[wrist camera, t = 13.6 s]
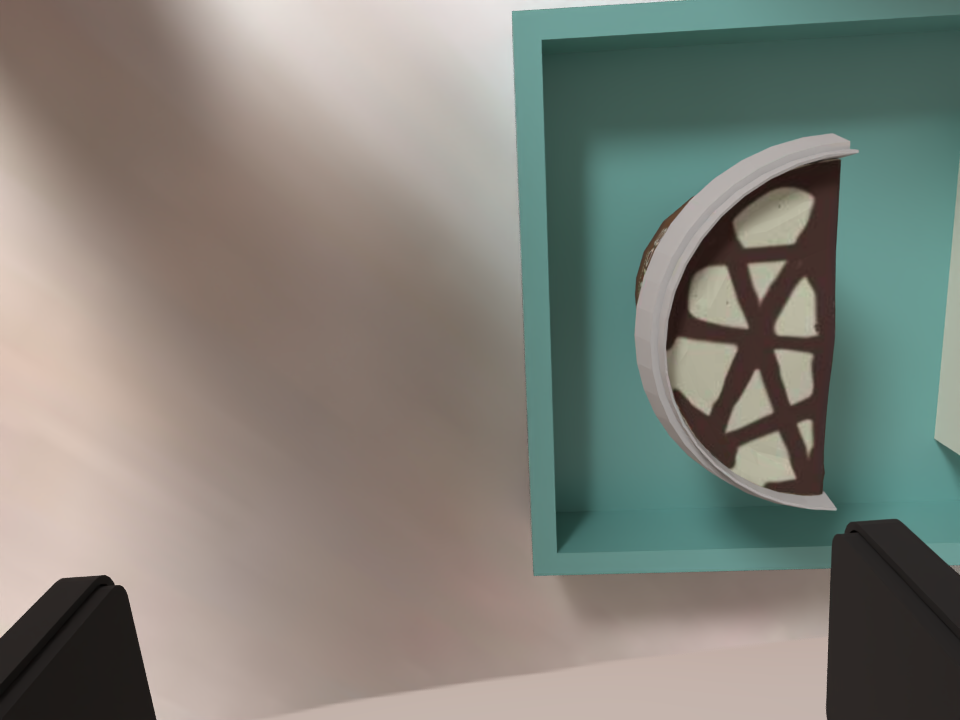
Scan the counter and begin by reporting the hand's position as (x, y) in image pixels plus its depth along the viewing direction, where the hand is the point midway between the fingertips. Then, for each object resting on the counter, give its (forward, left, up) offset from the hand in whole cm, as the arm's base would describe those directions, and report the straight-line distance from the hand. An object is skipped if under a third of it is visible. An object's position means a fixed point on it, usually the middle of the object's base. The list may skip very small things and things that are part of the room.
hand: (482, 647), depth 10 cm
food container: (0, +8, -25) cm, 26 cm away
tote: (0, +14, -26) cm, 29 cm away
